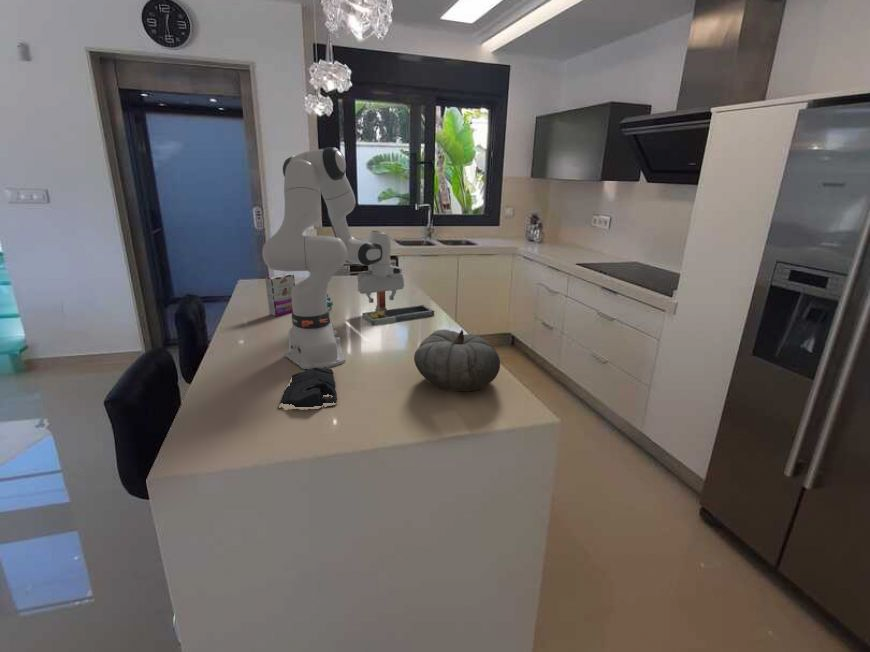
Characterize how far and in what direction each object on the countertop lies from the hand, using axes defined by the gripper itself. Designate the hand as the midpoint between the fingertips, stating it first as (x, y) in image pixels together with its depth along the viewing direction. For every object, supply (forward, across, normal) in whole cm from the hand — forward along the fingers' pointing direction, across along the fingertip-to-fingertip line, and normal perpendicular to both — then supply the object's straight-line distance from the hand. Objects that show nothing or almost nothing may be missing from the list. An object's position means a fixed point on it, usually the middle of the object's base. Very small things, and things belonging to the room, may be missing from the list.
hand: (381, 301), depth 196 cm
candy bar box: (+5, -38, +18) cm, 42 cm away
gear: (+5, -22, +15) cm, 28 cm away
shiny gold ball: (+4, -9, -12) cm, 15 cm away
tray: (+5, -5, -12) cm, 14 cm away
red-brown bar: (+5, 0, 0) cm, 5 cm away
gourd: (+5, -7, -73) cm, 74 cm away
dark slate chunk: (+6, -46, -60) cm, 76 cm away
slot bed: (+5, +8, -12) cm, 15 cm away
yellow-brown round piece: (+3, -5, -11) cm, 12 cm away
